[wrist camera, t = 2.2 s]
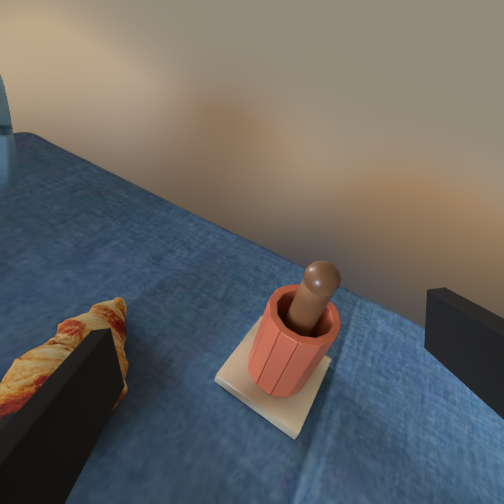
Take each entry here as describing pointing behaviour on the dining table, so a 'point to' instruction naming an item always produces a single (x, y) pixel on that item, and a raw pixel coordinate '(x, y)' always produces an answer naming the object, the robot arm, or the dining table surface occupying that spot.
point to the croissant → (62, 353)
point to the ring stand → (302, 323)
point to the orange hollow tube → (288, 346)
